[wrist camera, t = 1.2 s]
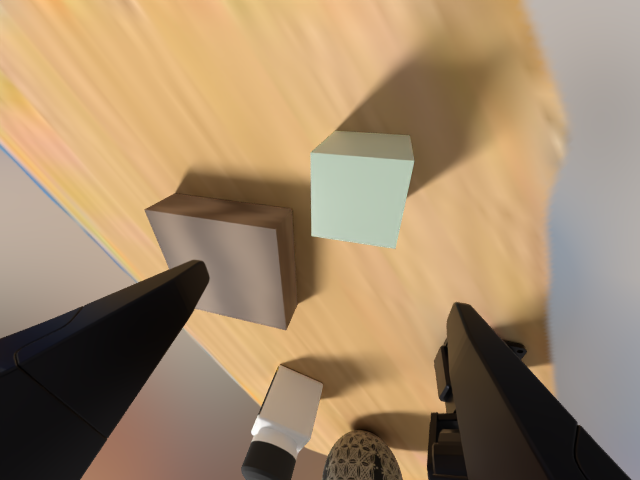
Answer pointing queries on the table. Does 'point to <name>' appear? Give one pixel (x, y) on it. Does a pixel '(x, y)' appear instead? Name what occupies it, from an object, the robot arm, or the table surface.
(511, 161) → the table surface
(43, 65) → the table surface
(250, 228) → the walnut block
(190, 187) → the table surface
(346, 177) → the sage pill box
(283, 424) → the medicine bottle
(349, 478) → the decorative egg
